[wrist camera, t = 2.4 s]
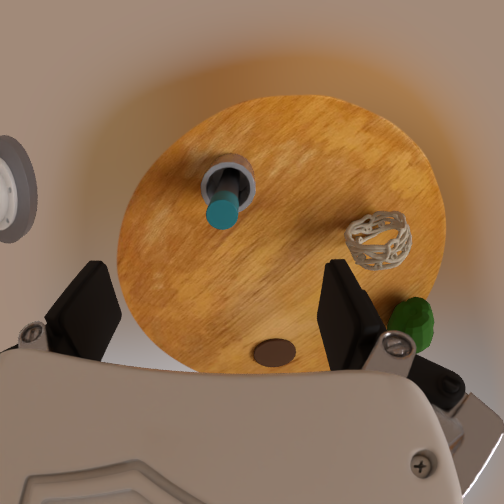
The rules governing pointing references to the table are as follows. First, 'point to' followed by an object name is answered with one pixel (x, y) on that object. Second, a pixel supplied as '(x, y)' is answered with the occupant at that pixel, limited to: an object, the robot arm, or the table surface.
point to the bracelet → (399, 244)
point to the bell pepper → (414, 321)
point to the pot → (215, 174)
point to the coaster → (274, 352)
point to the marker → (225, 201)
